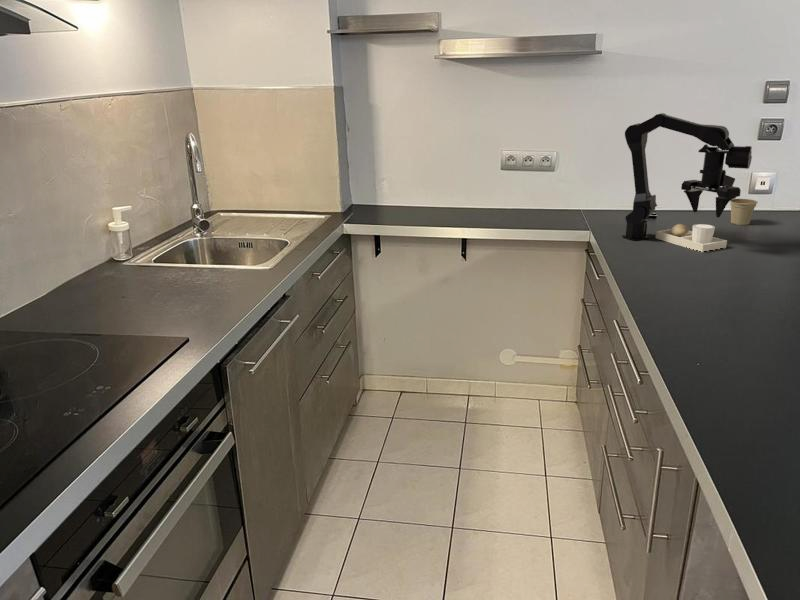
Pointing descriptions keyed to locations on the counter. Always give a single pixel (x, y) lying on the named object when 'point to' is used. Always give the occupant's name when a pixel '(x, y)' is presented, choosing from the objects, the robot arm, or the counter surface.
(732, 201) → the flower pot
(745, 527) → the counter surface
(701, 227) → the white and grey cylinder
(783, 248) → the counter surface
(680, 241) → the holder
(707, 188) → the robot arm
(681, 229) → the tan wooden ball
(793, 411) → the counter surface
